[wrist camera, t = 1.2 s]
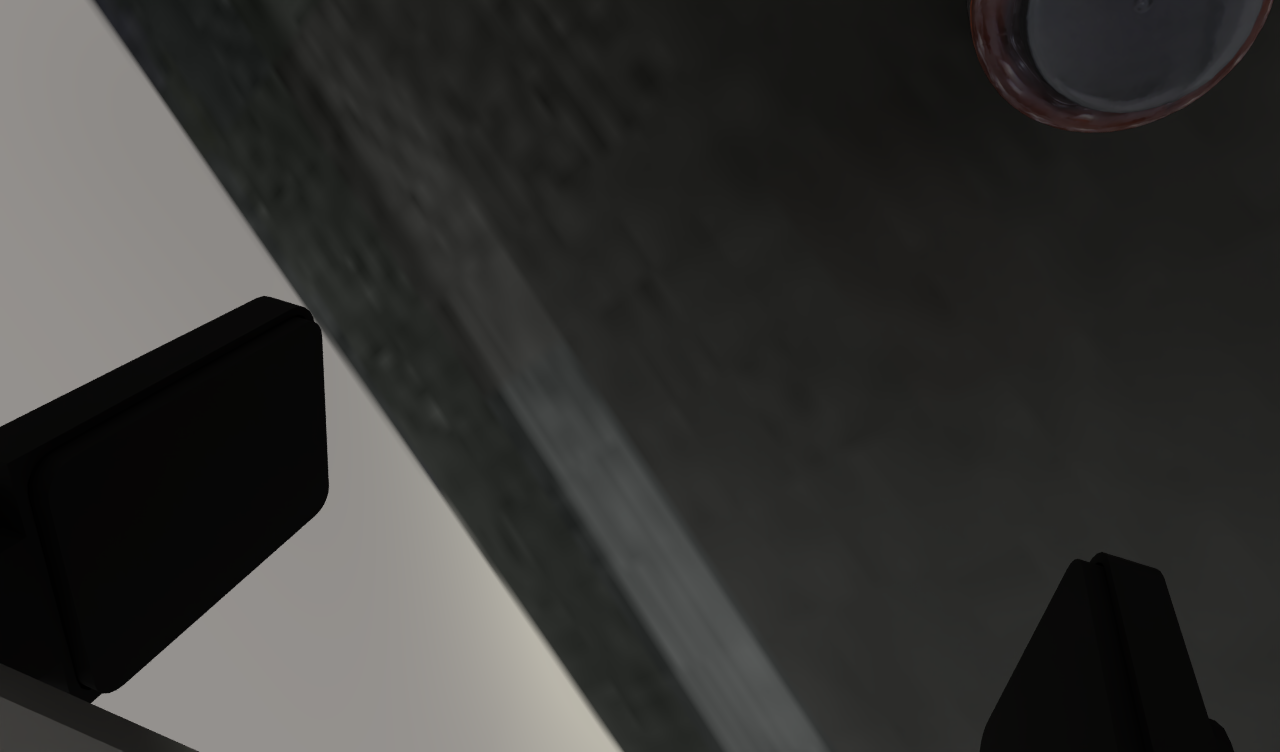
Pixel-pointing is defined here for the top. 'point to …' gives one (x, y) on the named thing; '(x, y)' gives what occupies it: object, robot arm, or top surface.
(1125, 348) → the top surface
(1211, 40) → the supplement bottle
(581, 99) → the top surface
